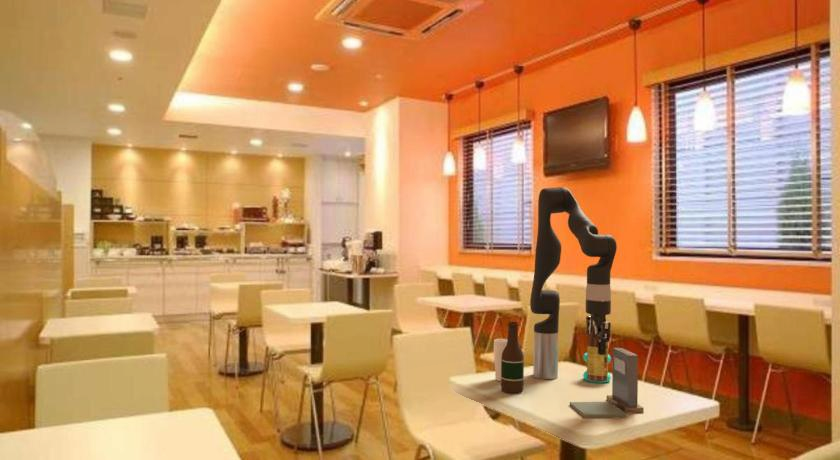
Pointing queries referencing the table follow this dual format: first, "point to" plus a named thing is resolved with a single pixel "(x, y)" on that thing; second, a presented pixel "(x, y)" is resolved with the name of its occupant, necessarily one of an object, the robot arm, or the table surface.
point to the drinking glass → (498, 356)
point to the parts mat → (597, 409)
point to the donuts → (587, 374)
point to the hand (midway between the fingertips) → (597, 352)
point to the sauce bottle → (596, 358)
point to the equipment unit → (625, 381)
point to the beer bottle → (512, 363)
